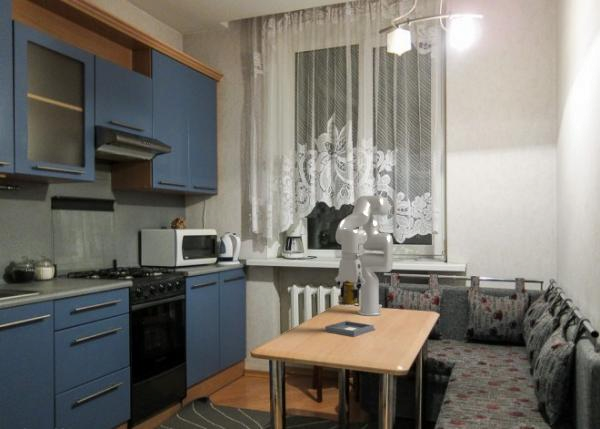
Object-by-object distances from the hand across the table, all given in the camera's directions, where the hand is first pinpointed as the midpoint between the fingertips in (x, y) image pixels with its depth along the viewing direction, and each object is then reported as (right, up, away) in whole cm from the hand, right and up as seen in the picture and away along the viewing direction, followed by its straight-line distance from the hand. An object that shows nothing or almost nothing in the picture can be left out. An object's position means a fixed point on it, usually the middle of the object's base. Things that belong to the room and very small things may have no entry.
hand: (349, 297), depth 220 cm
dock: (0, -15, 0) cm, 15 cm away
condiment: (-1, -3, 0) cm, 3 cm away
